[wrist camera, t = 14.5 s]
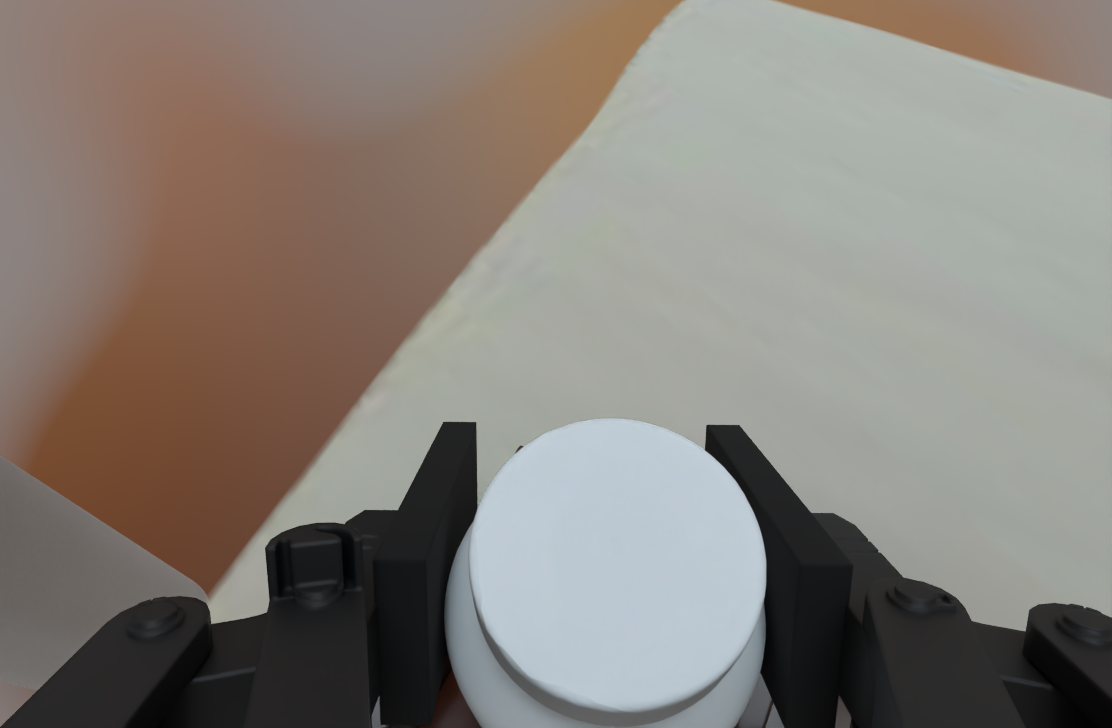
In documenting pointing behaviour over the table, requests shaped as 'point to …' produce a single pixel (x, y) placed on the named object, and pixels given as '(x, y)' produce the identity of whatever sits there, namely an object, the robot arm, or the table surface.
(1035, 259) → the table surface
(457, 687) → the grid
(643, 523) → the pill bottle
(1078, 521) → the table surface
